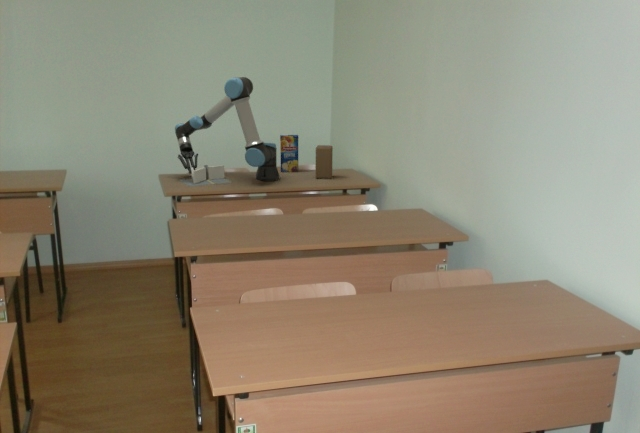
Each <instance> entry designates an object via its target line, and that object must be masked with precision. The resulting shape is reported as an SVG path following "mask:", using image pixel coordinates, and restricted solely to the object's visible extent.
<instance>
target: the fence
mask: <svg viewBox="0 0 640 433" xmlns="http://www.w3.org/2000/svg"><path fill="white" fill-rule="evenodd" d="M203 168H206V180H208V179H209V180H211V179H222V178H225V165H212V166H208V165H207V164H204V165H203Z"/></svg>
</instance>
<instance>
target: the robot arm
mask: <svg viewBox="0 0 640 433" xmlns="http://www.w3.org/2000/svg"><path fill="white" fill-rule="evenodd" d="M223 90H224V93H225V96H224V97H222V99H221V100H219V101H218V102H217V103H216V104H214V105H213V106H212V107H211V108H209V110H207V111H205V113H204V114H203V115H202V116H199V115H194V116H192V117H191V118H190V119H189V120H188V121H186V122H185V123H177V124H176V125H175V126H174V132H175V136H176V139H177V142H178V146H179V150H180V154H177V159H178V160H179V161H180V163H181V164H182V166H183V168H184V169H185V170H187V171H188V173H189V175H191V179H193V171H195V170H196V169H197V168H198V156H199V153H196V152H195V151H194V149H193V146H192V143H191V140H190V136H191V135H192V134H194V133H195V132H196V131H200V130H207V129H209V128H211V127H212V126H213V123H215V121H217V120H218V119H220V118H221V117H222V116H223V115H224V114H225V113H226V112H228V111H229V110H230V109H231V108H232V107H235V110H236V113H237V117H238V119H239V123H240V127H241V131H242V133H243V136H244V141H245V146H244V148H245V154H244V160H245V162H246V163H247V164H248V165H249V166H250V167H253V168H257V170H256V172H255V180H257V181H260V182H274V181H278V180H280V173H279V170H278V167H277V144H276V143H274V142H264V141H263V140H262V139H260V135H259V131H258V128H257V124H256V121H255V118H254V115H253V112H252V107H251V104H250V99H251V96H250V95H251V94H252V93H253V91H254V84H253V81H252V80H251V79H250V78H248V77H246V76H241V77H239V76H238V77H236V76H235V77H231V78H229V79H228V80H227V81H226V82H225V84H224V89H223ZM193 157H194V159H193Z"/></svg>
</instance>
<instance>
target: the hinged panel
mask: <svg viewBox="0 0 640 433" xmlns="http://www.w3.org/2000/svg"><path fill="white" fill-rule="evenodd" d="M204 180H206V168H204V167H200V168H198V169H195V171H193V183H194V184H196V183H198V182H201V181H204Z"/></svg>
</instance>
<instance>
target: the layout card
mask: <svg viewBox="0 0 640 433" xmlns="http://www.w3.org/2000/svg"><path fill="white" fill-rule="evenodd" d="M179 181H180V182H181V183H182V184H184V185H186V186H188V187H197V186H209V185H220V184H230V183H231V184H232V183H233V181H231V180H228V179H227V178H225V177H224V178H222V179H211V180H209V179H208V180H204V181H201V182H198V183H196V184H194V183H193V179H192V178H185V179H184V178H183V179H179Z"/></svg>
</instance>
